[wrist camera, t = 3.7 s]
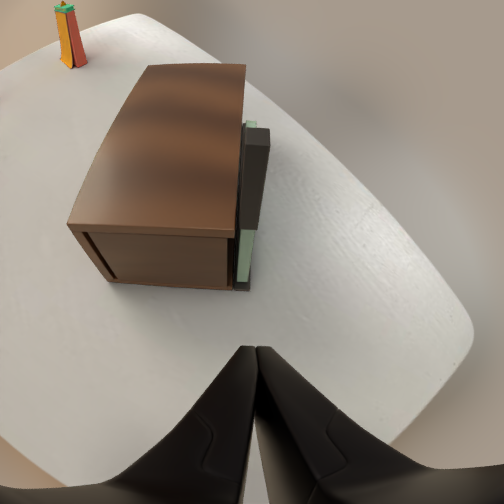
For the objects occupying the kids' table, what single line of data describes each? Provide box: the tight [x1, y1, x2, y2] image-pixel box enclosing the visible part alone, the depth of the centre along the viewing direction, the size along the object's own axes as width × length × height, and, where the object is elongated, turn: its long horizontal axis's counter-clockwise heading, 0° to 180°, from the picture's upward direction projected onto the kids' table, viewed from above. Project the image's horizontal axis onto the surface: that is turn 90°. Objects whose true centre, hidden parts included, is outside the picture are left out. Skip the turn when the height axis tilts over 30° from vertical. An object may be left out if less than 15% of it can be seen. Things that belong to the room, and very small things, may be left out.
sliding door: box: [237, 121, 270, 282], centre depth 20 cm, size 10×1×13 cm, turn 179°
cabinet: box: [67, 63, 250, 291], centre depth 24 cm, size 20×11×8 cm, turn 179°
